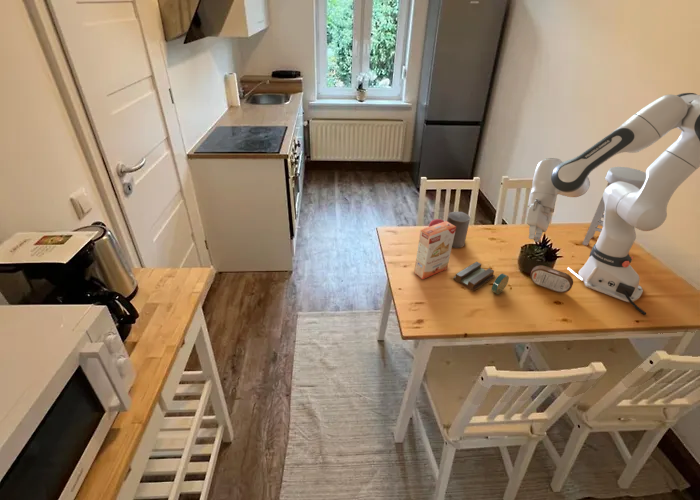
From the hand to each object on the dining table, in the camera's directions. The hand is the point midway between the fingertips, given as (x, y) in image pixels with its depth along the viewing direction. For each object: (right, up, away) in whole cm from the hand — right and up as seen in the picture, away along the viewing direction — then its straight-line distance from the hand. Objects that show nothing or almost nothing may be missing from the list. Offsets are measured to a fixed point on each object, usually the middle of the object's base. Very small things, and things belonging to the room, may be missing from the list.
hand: (534, 240), depth 140 cm
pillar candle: (-19, 0, +38) cm, 43 cm away
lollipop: (-29, -3, +33) cm, 44 cm away
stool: (+49, -1, +40) cm, 63 cm away
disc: (-10, -20, +8) cm, 24 cm away
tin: (+11, -19, +11) cm, 24 cm away
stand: (-17, -15, +15) cm, 27 cm away
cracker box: (-34, -12, +19) cm, 41 cm away
